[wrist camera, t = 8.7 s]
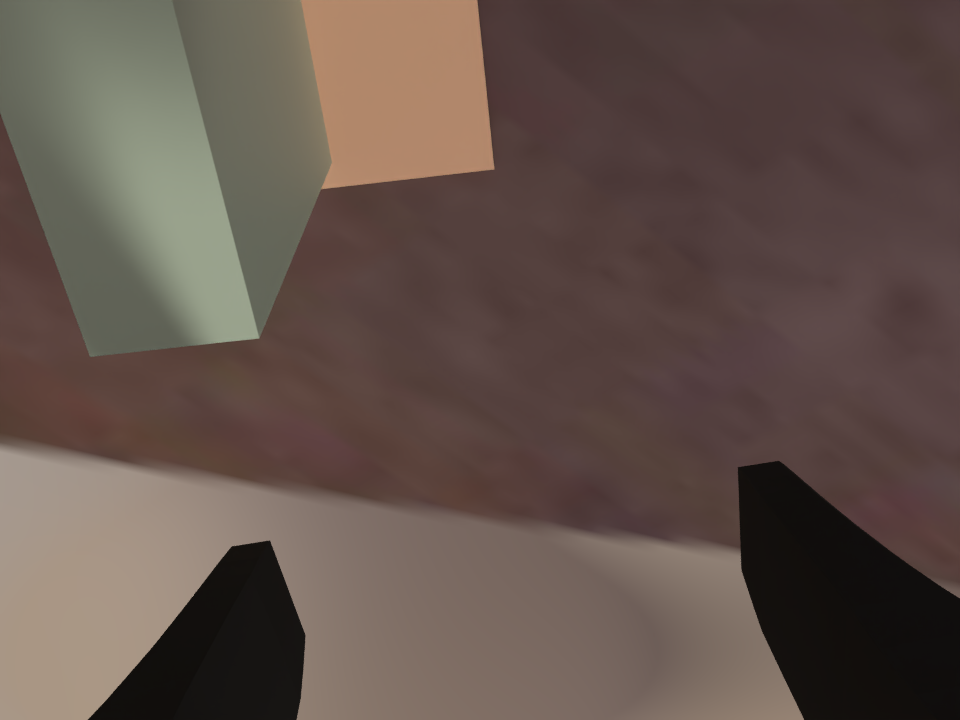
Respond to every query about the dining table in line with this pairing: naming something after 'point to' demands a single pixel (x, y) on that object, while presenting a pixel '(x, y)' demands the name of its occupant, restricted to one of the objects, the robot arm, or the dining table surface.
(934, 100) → the dining table surface
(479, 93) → the mat
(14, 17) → the sage green tall pillar
